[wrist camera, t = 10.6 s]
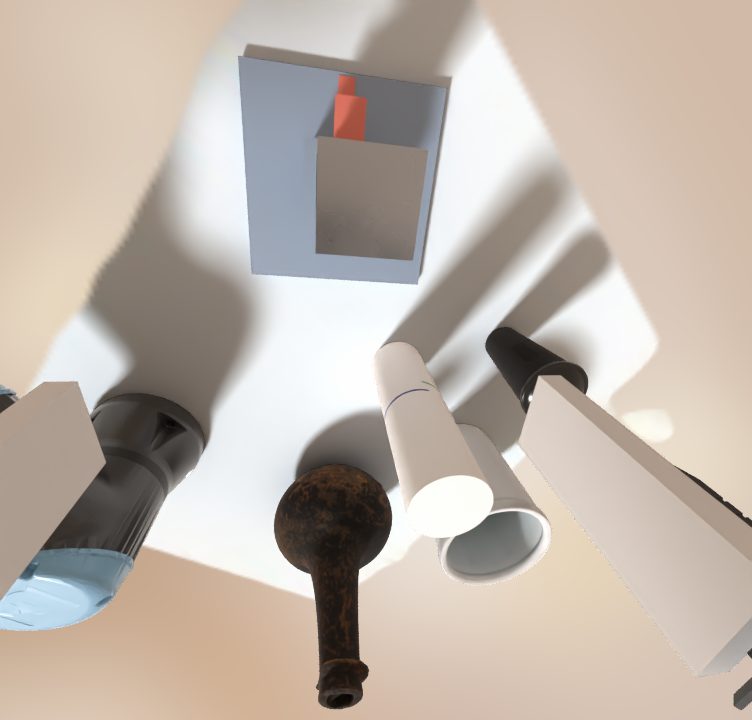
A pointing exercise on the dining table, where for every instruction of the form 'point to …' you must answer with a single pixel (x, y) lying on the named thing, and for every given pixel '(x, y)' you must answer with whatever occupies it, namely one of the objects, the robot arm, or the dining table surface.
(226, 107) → the dining table surface
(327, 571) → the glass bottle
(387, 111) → the stand
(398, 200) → the column
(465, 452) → the cylindrical container
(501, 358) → the drinking cup
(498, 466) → the utensil holder
